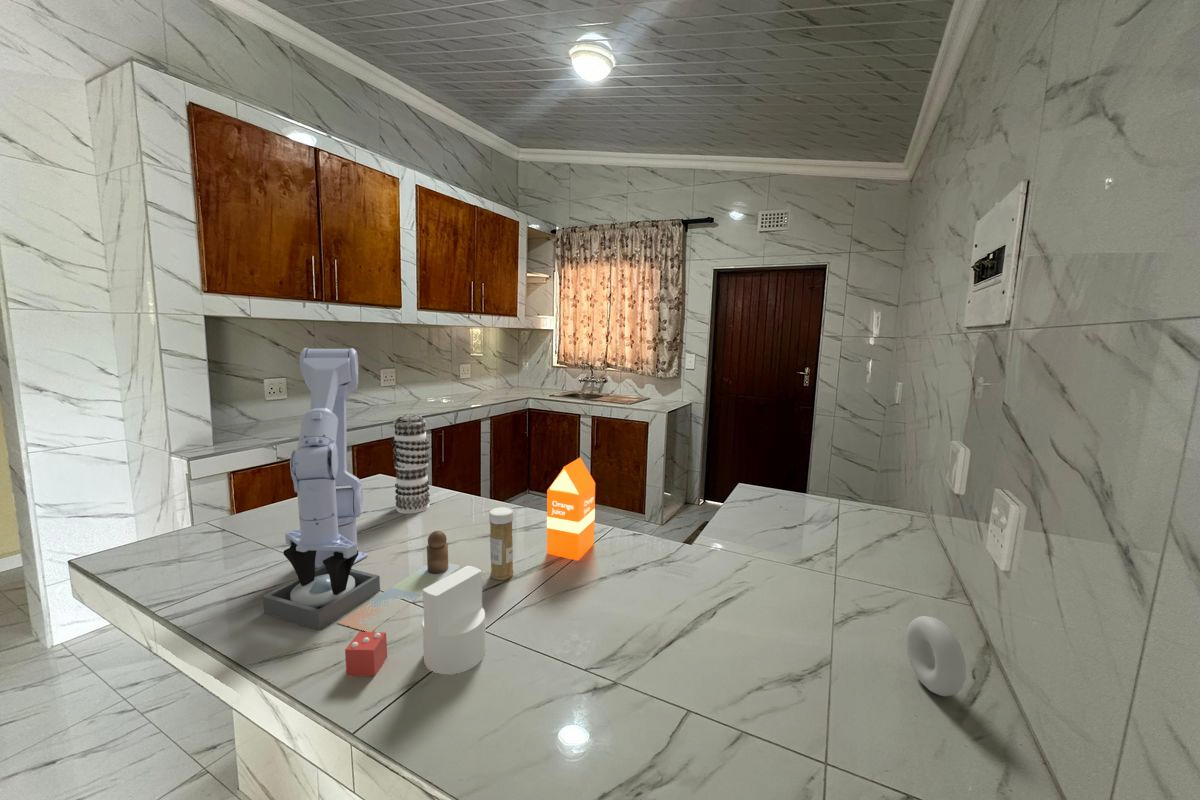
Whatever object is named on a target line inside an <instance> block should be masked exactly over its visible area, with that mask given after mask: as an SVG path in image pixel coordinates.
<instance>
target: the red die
mask: <svg viewBox="0 0 1200 800" xmlns="http://www.w3.org/2000/svg"><path fill="white" fill-rule="evenodd" d="M387 645H388V644H387V632H382V631H379V632H376V631H373V632H364V631H359V632H357V634H356V635H355V636H354V638H353V639H352V640H351V641H350V643H349V644H348V645H347V646H346V647H345V650H344V653H345V655H344V656H345V671H346V676H356V677H357V676H361V677H375V676H376V675H377V673H378V672H379V670H380V669H381V668H382V667H383V665H384V663H385V662H386V660H387V658H388V646H387Z"/></svg>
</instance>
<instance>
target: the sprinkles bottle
mask: <svg viewBox="0 0 1200 800" xmlns="http://www.w3.org/2000/svg"><path fill="white" fill-rule="evenodd" d="M488 515H489V516H488V517H489V518H488V519H489V521H488V522H489V524H490V525H489V526H490V527H489V528H490V532H489V533H490V534H489V541H490V542H489V545H490V551H489V553H490V577H491V579H494V580H496V581H503V580H504V581H505V580H508V579H510V578H511V577H512V576H513V575H514V568H513V567H514V566H513V565H514V564H513V563H514V562H513V561H514V552H513V551H514V550H513V544H514V543H513V540H514V539H513V520H514V511H513V509H512V508H510V507H504V506H503V507H500V506H499V507H495V508H492V509H491V510H490V511H489V514H488Z"/></svg>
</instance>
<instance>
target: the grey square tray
mask: <svg viewBox="0 0 1200 800" xmlns="http://www.w3.org/2000/svg"><path fill="white" fill-rule="evenodd" d="M324 574H329V573H328V571H327V569H326V567H325V565H323V566H321V567H319V568H315V577H316V576H319V575H324ZM349 575H351V576H352V577H353V578H354V579H355V588H354V589H352V590H350V591H349V592H347V593H345V594H344V595H342V596H340V597H339V598H337V599H335V600H334V601H332V602H330V603H329V604H327V605H325V606H324V607H320V608H313V607H310V606H306V605H303V604H299V603H296V602H292V601H291V599H290V593H291V591H292V589H293V588H294V587H295V586H297V585H298V584H300V581H299V579H298V577H297V578H296V579H294V580H293V579H292V580H291V581H289V582H288V583H286V584H283V585H281V586H280V587H277V588H275V589H274V590H272V591H270V592H268V593H266V594H264V595H263V596H262V597H261V599H262V608H263V614H267V615H270V616H273V617H276V618H279V619H282V620H285V621H289V622H293V623H296V624H299V625H301V626H305V627H308V628H312V629H314V630H318V631H321V630H322V629H324V628H326V627H327V626H329V625H330V624H331V622H332V621H333V622H335V621H337V619H339V618H341V617H342V616H344V615H345V614H347V613H349V612H350V611H352V610H353V609H354V608H356V607H358V606H359V605H360V604H362V603H363V601H364V602H365V601H367V600H368V599H370V598H372V597H373V596H374V595H376V594H378V593H379V592H380V591H381V582H380V581H381V580H380V579H381V578H380V575H378V574H374V573H369V572H367V571H361V570H358V569H353V568H351V571H350V574H349ZM369 597H370V598H369ZM366 599H367V600H366ZM358 604H359V605H358ZM355 606H356V607H355ZM352 608H353V609H352ZM346 612H347V613H346ZM334 620H335V621H334ZM333 622H332V623H333ZM323 627H324V628H323Z"/></svg>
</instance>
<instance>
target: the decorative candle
mask: <svg viewBox="0 0 1200 800" xmlns="http://www.w3.org/2000/svg"><path fill="white" fill-rule="evenodd" d="M426 422H427V420H425V419H424V418H423V417H422V415H419V414H403V415H400V416H398V417H397V418H396V419H395V421H393V425H394V436H393V437H391V439H392V441H391V446H392V447H393V449H392V453H393V455H392V458H393V460H394V463H393V467H394V469H396V476H395V481H396V483H395V484H394V488H396V489H395V494H396V495H395V496H394V497H395V505H396V512H398V513H401V514H417V513H421V512H424V511H426V510H428V509H429V508H430V506H431V505H430V502H431V500H430V496H431V494H430V491H429V490H430V487H429V484H430V481H429V479H428V473H427V469H428V468H427V466H429V462H430V460H429V459H428V457H429V456H430V454H429V453H427V452H426V451H428V450H429V449H430V446H428V444H429V443H430V441H429V440H427V431H426Z"/></svg>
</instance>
